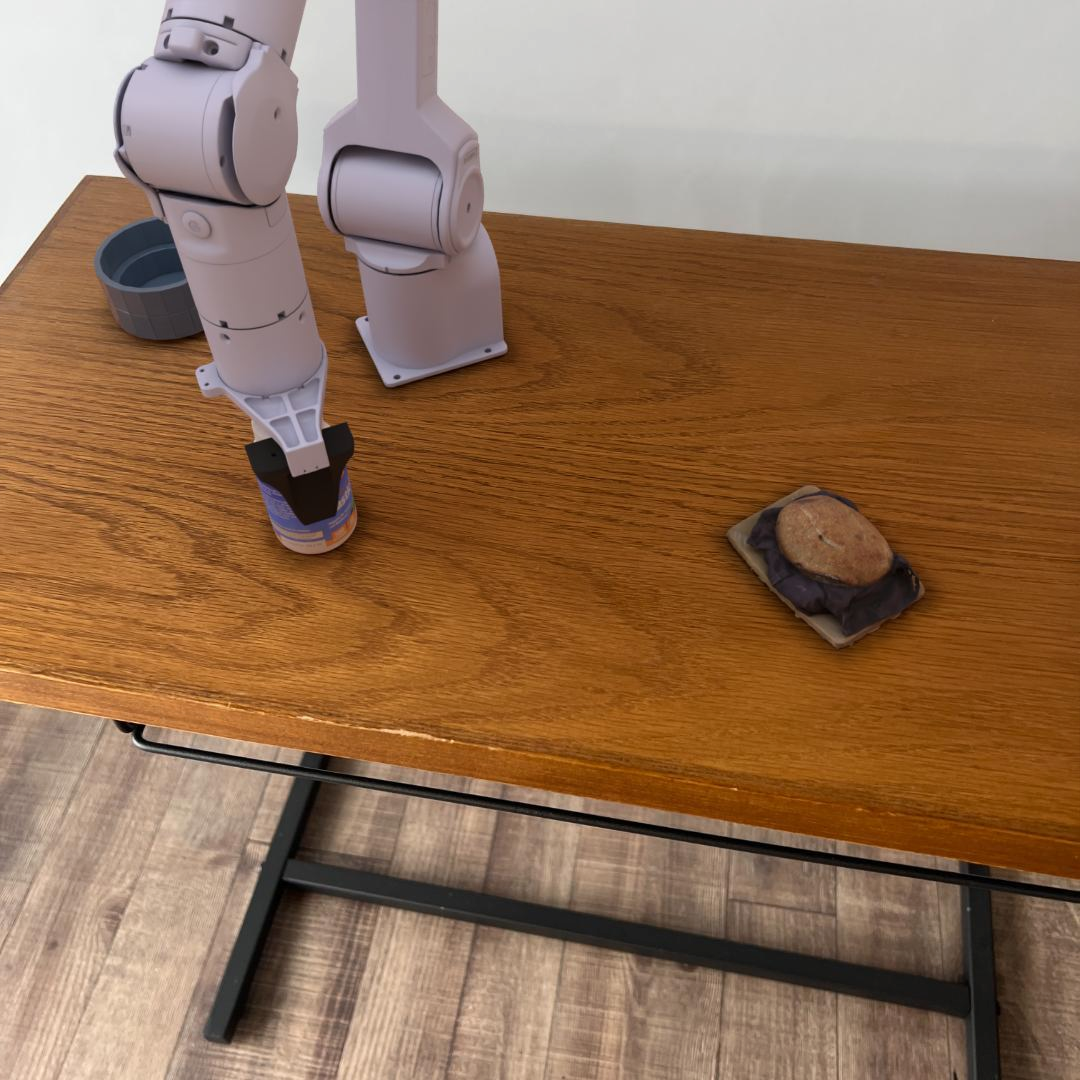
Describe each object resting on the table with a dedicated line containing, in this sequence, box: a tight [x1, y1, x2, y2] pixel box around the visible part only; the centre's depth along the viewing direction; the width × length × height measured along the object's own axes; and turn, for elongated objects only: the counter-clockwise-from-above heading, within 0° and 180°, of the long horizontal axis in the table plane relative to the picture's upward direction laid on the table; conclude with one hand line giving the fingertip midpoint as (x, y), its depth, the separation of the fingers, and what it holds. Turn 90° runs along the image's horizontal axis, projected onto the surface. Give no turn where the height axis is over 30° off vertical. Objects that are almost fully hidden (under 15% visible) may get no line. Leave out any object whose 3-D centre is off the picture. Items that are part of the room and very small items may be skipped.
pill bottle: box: [250, 417, 358, 555], centre depth 66 cm, size 5×5×10 cm
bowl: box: [92, 215, 204, 341], centre depth 82 cm, size 9×9×5 cm
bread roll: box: [725, 484, 926, 650], centre depth 66 cm, size 11×8×4 cm
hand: (301, 473), depth 66 cm, fingers open, 7 cm apart
